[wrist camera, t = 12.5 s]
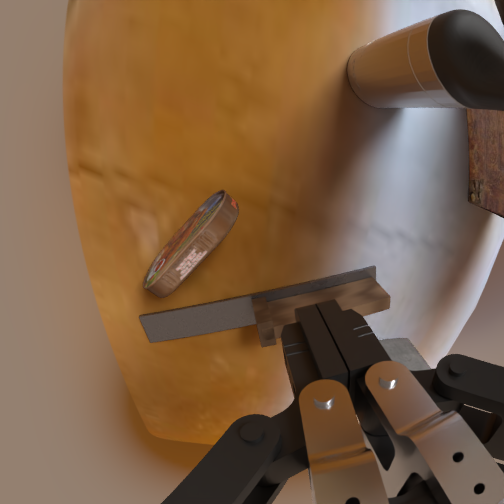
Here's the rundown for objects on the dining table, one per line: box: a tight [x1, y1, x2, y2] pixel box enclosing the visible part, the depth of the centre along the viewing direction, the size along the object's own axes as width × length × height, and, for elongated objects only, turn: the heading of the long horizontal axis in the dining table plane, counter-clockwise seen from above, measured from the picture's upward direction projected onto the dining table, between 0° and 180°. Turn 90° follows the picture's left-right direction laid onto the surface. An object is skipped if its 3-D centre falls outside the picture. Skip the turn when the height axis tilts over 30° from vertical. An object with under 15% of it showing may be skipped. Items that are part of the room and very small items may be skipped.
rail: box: [139, 266, 376, 343], centre depth 44 cm, size 36×5×1 cm, turn 100°
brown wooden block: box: [251, 277, 390, 347], centre depth 41 cm, size 18×4×6 cm, turn 100°
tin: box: [143, 190, 239, 298], centre depth 35 cm, size 15×3×8 cm, turn 135°
